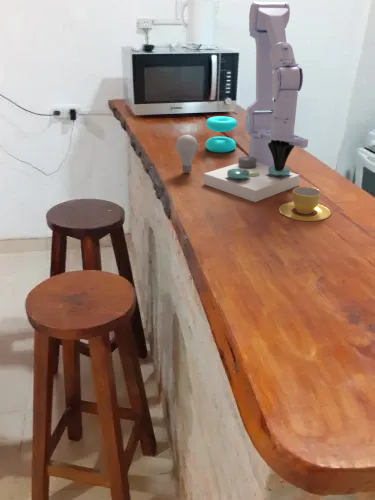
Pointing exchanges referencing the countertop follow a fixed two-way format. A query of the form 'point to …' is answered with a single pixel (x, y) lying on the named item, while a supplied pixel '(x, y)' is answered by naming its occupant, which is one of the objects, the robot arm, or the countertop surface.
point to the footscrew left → (278, 172)
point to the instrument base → (250, 180)
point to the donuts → (221, 142)
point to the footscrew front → (238, 175)
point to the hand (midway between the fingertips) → (279, 169)
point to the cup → (305, 205)
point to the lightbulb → (186, 151)
